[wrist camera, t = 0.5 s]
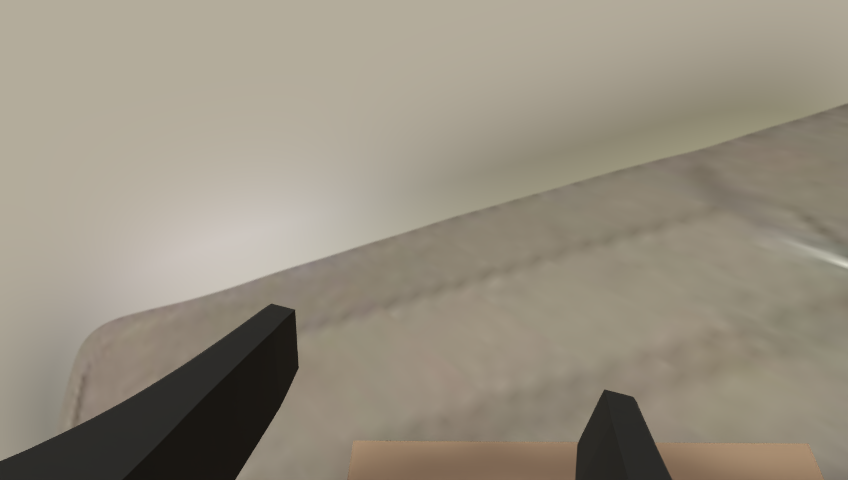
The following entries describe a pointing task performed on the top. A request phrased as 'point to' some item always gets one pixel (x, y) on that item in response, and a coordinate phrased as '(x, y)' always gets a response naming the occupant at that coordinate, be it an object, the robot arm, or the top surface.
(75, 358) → the top surface
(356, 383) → the top surface
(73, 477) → the robot arm
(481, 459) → the wooden peg tray
